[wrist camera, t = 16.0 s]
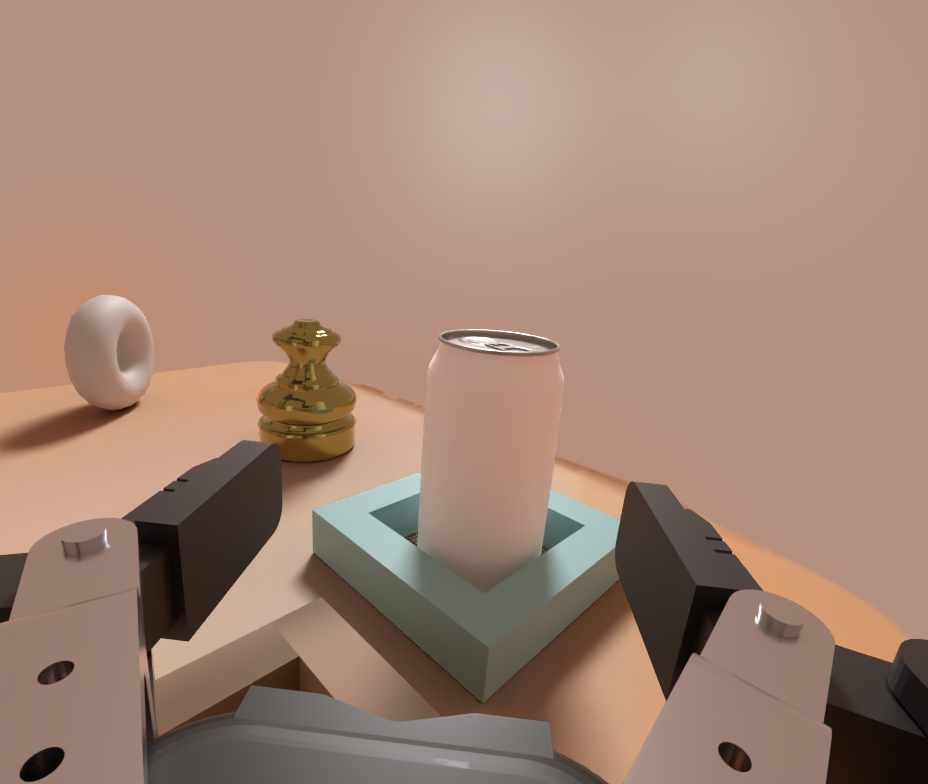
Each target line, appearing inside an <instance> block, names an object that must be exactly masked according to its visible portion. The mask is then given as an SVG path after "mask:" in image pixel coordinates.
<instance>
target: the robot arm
mask: <svg viewBox="0 0 928 784" xmlns="http://www.w3.org/2000/svg"><path fill="white" fill-rule="evenodd" d="M281 512H282V480H281V452H280V448H279V446H278V445H277V444H276V443H266V442H257V441H247V440H243V441H240V442H239V443H238V444H236V445H235V446H234V447H232V448H231V449H230V450H228V451H227V452H226V453H224V454H223V455H222V456H220V457H219V458H215V459H213V460H210V461H208V462H205V463H202V464H200V465H197V466H195V467H193V468H191V469H190V470H189V471H187V472H186V473H184V474H183V475H182V476H180V477H179V478H177V481H173V482H172V483H170V484H169V485H168V486H166V487H165V488H164V490H163V491H159V492H158V493H156V494H155V495H154V496H152V497H151V498H149V499H148V500H147V501H145V502H144V503H142V504H141V505H140V506H138V507H137V508H135V509H134V510H133V511H131V512H130V513H128V514H127V515H126V516H124V517H123V518H121V519H117V518H101V519H92V520H87V521H82V522H78V523H74V524H71V525H68V526H65V527H62V528H60V529H58V530H55V531H53V532H51V533H49V534H48V535H46V536H44V537H43V538H41V539H40V540H38V541H37V542H36V543H35V544H34V545H33V546H32V547H31V548H30V550H29V552H28V553H21V554H9V555H0V784H608V783H607V782H606V781H605V780H604V779H602V778H601V777H600V776H598V775H597V774H595V773H594V772H592V771H591V770H589V769H588V768H586V767H585V766H583V765H581V764H580V763H578V762H576V761H574V760H572V759H570V758H568V757H566V756H564V755H562V754H559V753H557V752H555V751H553V748H552V740H551V731H550V722H545V721H537V720H529V719H520V718H512V717H504V716H496V715H488V714H480V713H470V714H462V715H454V716H445V717H437V718H429V719H421V720H412V721H404V722H395V721H390V720H387V719H384V718H382V717H379V716H377V715H374V714H372V713H369V712H367V711H364V710H362V709H359V708H357V707H354V706H352V705H349V704H347V703H344V702H342V701H339V700H337V699H334V698H332V697H329V696H327V695H324V694H318V693H310V692H302V691H294V690H285V689H277V688H269V687H261V686H253V685H251V687H250V688H249V690H248V692H247V694H246V695H245V697H244V699H243V701H242V703H241V704H240V706H239V708H238V710H237V711H236V712H232V713H225V714H221V715H216V716H212V717H208V718H204V719H201V720H198V721H195V722H192V723H189V724H186V725H184V726H181V727H179V728H177V729H174V730H172V731H170V732H167V733H165V734H163V735H161V736H158V721H157V706H156V691H155V677H154V662H153V654H152V648H153V646H154V645H155V644H156V643H157V642H158V641H159V640H160V638H164V639H173V640H181V641H189V640H190V639H191V638H192V636H193V635H194V634H195V633H196V631H197V630H198V629H199V628H200V626H201V625H202V624H203V622H204V621H205V620H206V619H207V617H208V616H209V615H210V614H211V612H212V611H213V610H214V608H215V607H216V606H217V605H218V603H219V602H220V601H221V600H222V598H223V597H224V596H225V594H226V593H227V592H228V591H229V589H230V588H231V587H232V586H233V584H234V583H235V582H236V580H237V579H238V578H239V577H240V575H241V574H242V573H243V572H244V570H245V569H246V568H247V566H248V565H249V564H250V563H251V561H252V560H253V559H254V558H255V556H256V555H257V554H258V552H259V551H260V550H261V549H262V547H263V546H264V545H265V544H266V542H267V541H268V540H269V539H270V537H271V536H272V535H273V533H274V532H275V530H276V528H277V526H278V524H279V521H280V517H281ZM615 564H616V569H617V573H618V575H619V578H620V581H621V583H622V586H623V589H624V591H625V594H626V597H627V599H628V602H629V604H630V607H631V610H632V612H633V615H634V618H635V620H636V623H637V626H638V628H639V631H640V633H641V636H642V639H643V641H644V644H645V647H646V649H647V652H648V655H649V657H650V660H651V662H652V665H653V668H654V670H655V673H656V676H657V678H658V681H659V684H660V686H661V689H662V691H663V694H664V697H665V699H666V703H665V705H664V707H663V709H662V711H661V712H660V714H659V716H658V718H657V720H656V722H655V724H654V725H653V727H652V729H651V731H650V733H649V735H648V737H647V739H646V740H645V742H644V744H643V746H642V748H641V750H640V752H639V753H638V755H637V757H636V759H635V761H634V763H633V765H632V767H631V768H630V770H629V772H628V774H627V776H626V778H625V780H624V781H623V783H622V784H928V640H922V639H910V640H906V641H904V642H902V643H901V645H900V647H899V649H898V651H897V654H896V656H895V659H894V661H893V663H891V662H888V661H884V660H881V659H878V658H875V657H872V656H869V655H866V654H862V653H859V652H856V651H853V650H850V649H847V648H843V647H841V646H838V645H835V640H834V638H833V635H832V634H831V632H830V630H829V629H828V628H827V627H826V625H825V624H824V623H823V622H822V621H821V620H820V619H819V618H817V617H816V616H815V615H814V614H812V613H811V612H810V611H808V610H807V609H805V608H804V607H802V606H800V605H798V604H797V603H795V602H793V601H791V600H788V599H786V598H784V597H781V596H779V595H776V594H773V593H769V592H765V591H763V590H762V589H761V587H760V586H759V585H758V583H757V582H756V581H755V580H754V578H753V577H752V576H751V575H750V573H749V572H748V571H747V569H746V568H745V567H744V566H743V564H742V563H741V562H740V561H739V559H738V558H737V557H736V556H735V555H733V554H732V550H731V549H730V548H729V547H728V545H727V544H726V543H725V542H723V541H722V538H721V536H720V535H719V534H718V533H717V531H716V530H715V529H714V528H713V526H712V525H711V524H710V523H709V522H707V521H706V520H705V519H703V518H702V517H700V516H699V515H698V514H696V513H695V512H693V511H692V510H690V509H684V508H683V507H682V505H681V504H680V503H679V501H678V500H677V498H676V497H675V496H674V494H673V493H672V492H671V490H670V489H669V488H668V486H666V485H660V484H650V483H641V482H630V483H629V485H628V487H627V490H626V494H625V499H624V504H623V509H622V514H621V519H620V524H619V529H618V534H617V539H616V545H615Z"/></svg>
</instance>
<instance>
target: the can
mask: <svg viewBox="0 0 928 784" xmlns="http://www.w3.org/2000/svg"><path fill="white" fill-rule="evenodd" d="M438 338H439V340H440V345H439V348H438V350H437V352H436V353H435V355H434V357H433V359H432V360H431V362H430V365H429V367H428V373H427V384H426V399H425V414H424V430H423V447H422V464H421V482H420V500H419V518H418V538H417V547H418V548H419V549H421V550H422V551H424V552H425V553H427V554H428V555H430V556H431V557H432V558H434V559H435V560H437V561H438V562H440V563H441V564H443V565H444V566H446V567H447V568H448V569H450V570H451V571H453V572H454V573H456V574H457V575H459V576H460V577H461V578H463V579H464V580H466V581H467V582H469V583H470V584H472V585H473V586H474V587H476V588H477V589H479V590H480V591H482V592H483V593H485V592H487V591H488V590H490V589H491V588H493V587H494V586H496V585H497V584H499V583H500V582H502V581H503V580H505V579H506V578H508V577H509V576H511V575H512V574H514V573H515V572H517V571H518V570H520V569H521V568H523V567H524V566H526V565H527V564H529V563H530V562H532V561H533V560H535V559H536V558H538V557H539V556H541V552H542V545H543V538H544V531H545V524H546V517H547V510H548V503H549V496H550V489H551V482H552V475H553V468H554V461H555V453H556V446H557V438H558V431H559V424H560V417H561V409H562V401H563V393H564V376H563V372H562V370H561V366H560V364H559V361H558V351H559V350H560V345H559V344H558V343H556V342H554V341H552V340H548V339H545V338H542V337H538V336H533V335H528V334H521V333H515V332H506V331H496V330H477V329H473V330H472V329H470V330H469V329H468V330H452V331H446V332H443V333H441V334H440V335H439V336H438Z"/></svg>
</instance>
